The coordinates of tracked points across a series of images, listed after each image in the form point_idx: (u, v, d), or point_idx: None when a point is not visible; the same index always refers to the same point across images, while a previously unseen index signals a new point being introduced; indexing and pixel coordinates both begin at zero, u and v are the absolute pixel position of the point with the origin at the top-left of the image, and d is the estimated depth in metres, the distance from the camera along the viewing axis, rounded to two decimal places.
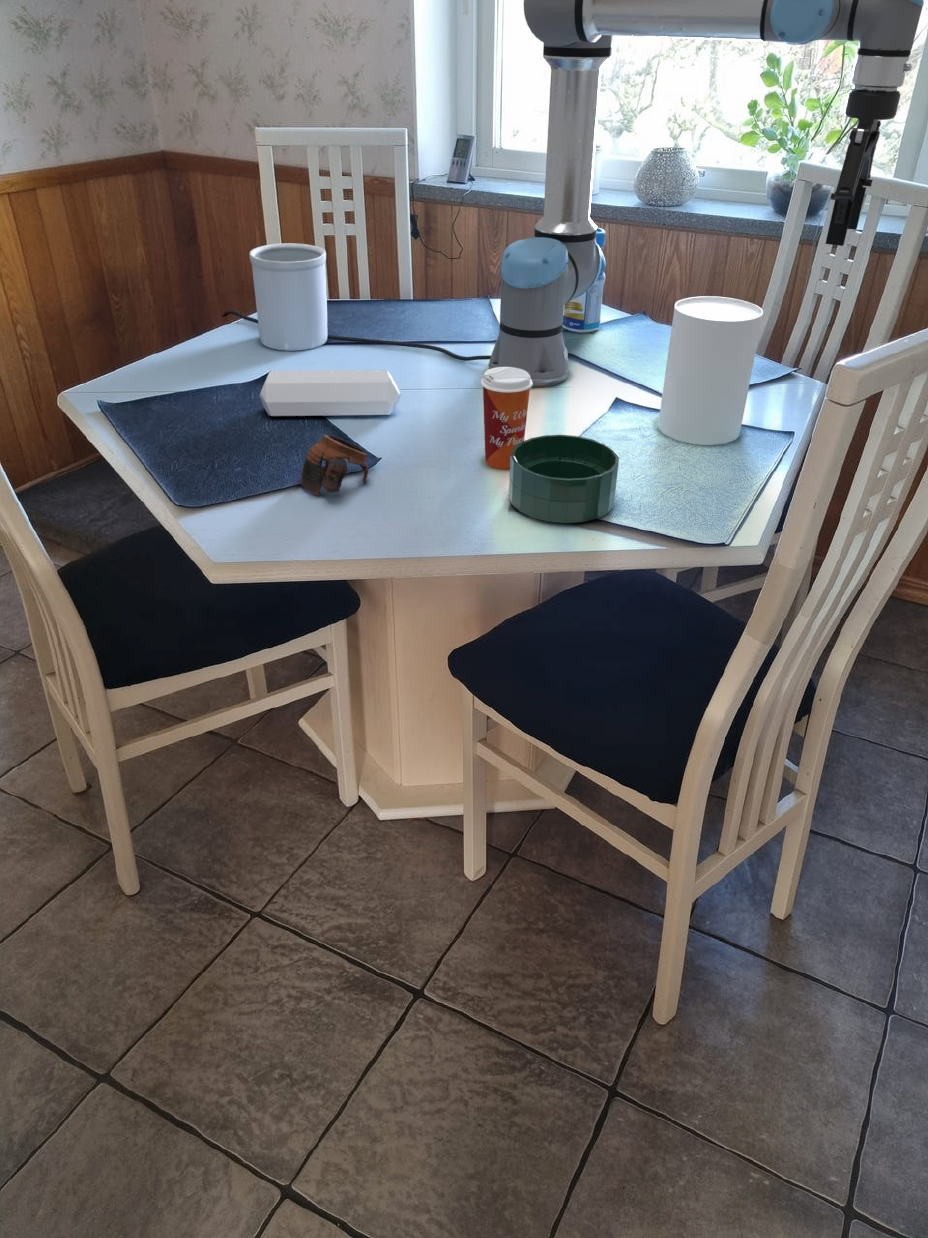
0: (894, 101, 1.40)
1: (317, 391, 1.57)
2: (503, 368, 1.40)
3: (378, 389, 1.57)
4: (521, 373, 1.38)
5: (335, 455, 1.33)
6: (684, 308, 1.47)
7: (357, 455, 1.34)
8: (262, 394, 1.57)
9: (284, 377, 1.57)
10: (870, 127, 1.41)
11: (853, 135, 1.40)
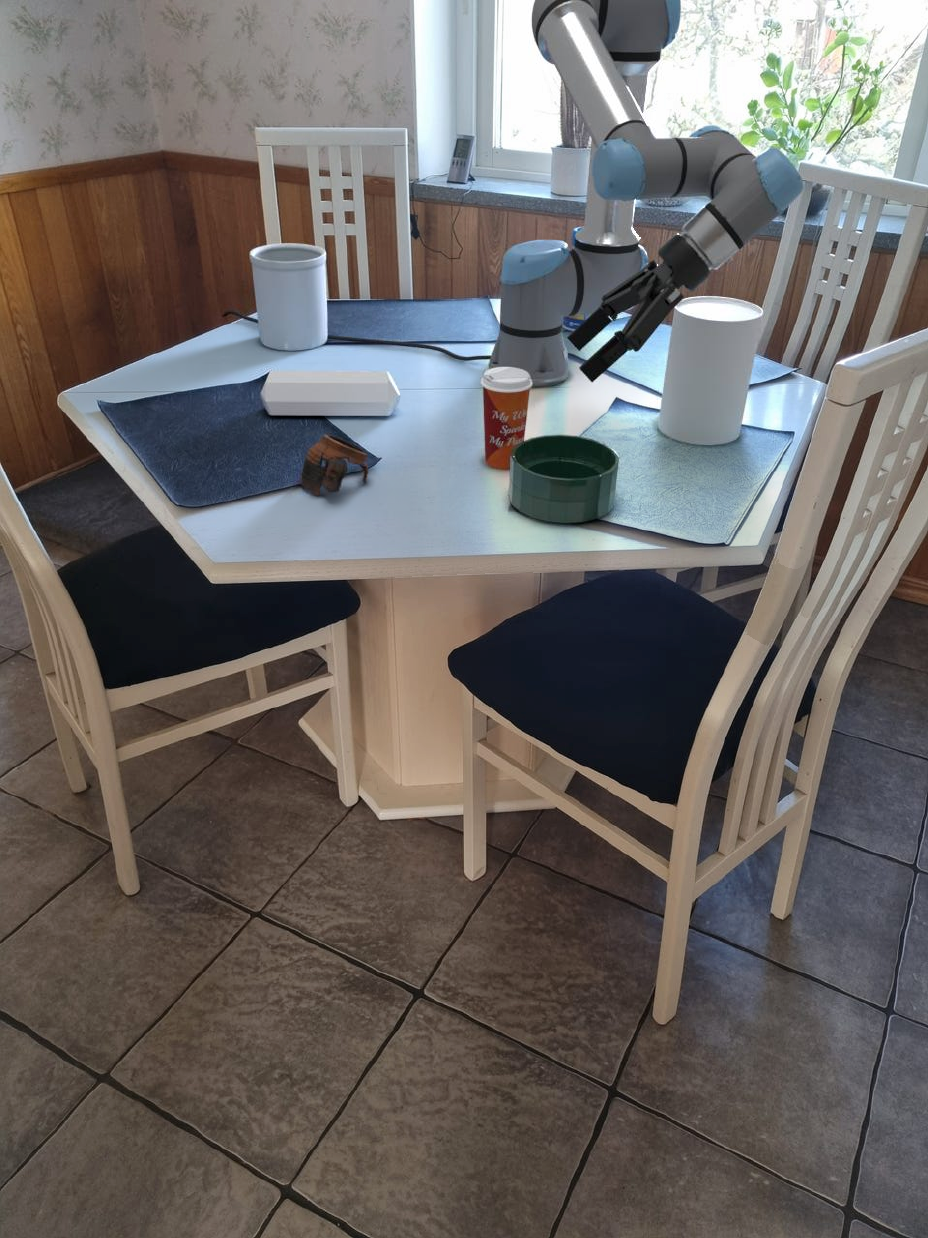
0: (704, 280, 1.29)
1: (317, 391, 1.57)
2: (503, 368, 1.40)
3: (378, 390, 1.57)
4: (521, 373, 1.38)
5: (335, 455, 1.33)
6: (684, 308, 1.47)
7: (357, 455, 1.34)
8: (262, 393, 1.57)
9: (284, 377, 1.57)
10: (677, 289, 1.28)
11: (669, 292, 1.25)
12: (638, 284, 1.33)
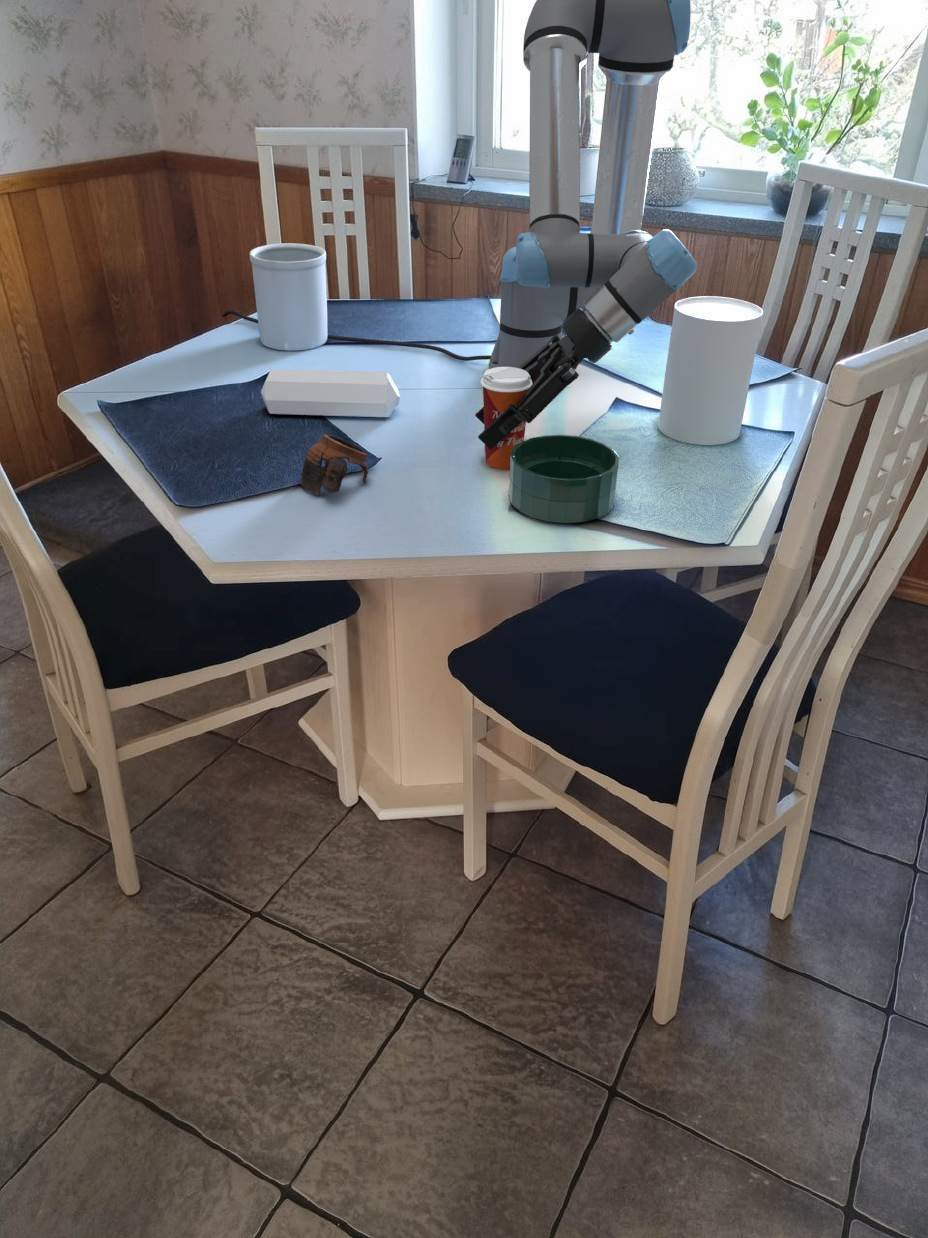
0: None
1: (316, 390, 1.57)
2: (503, 368, 1.40)
3: (377, 391, 1.57)
4: (521, 373, 1.38)
5: (335, 455, 1.33)
6: (684, 308, 1.47)
7: (357, 455, 1.34)
8: (262, 392, 1.58)
9: (284, 375, 1.57)
10: (579, 362, 1.33)
11: (563, 371, 1.31)
12: (544, 356, 1.38)
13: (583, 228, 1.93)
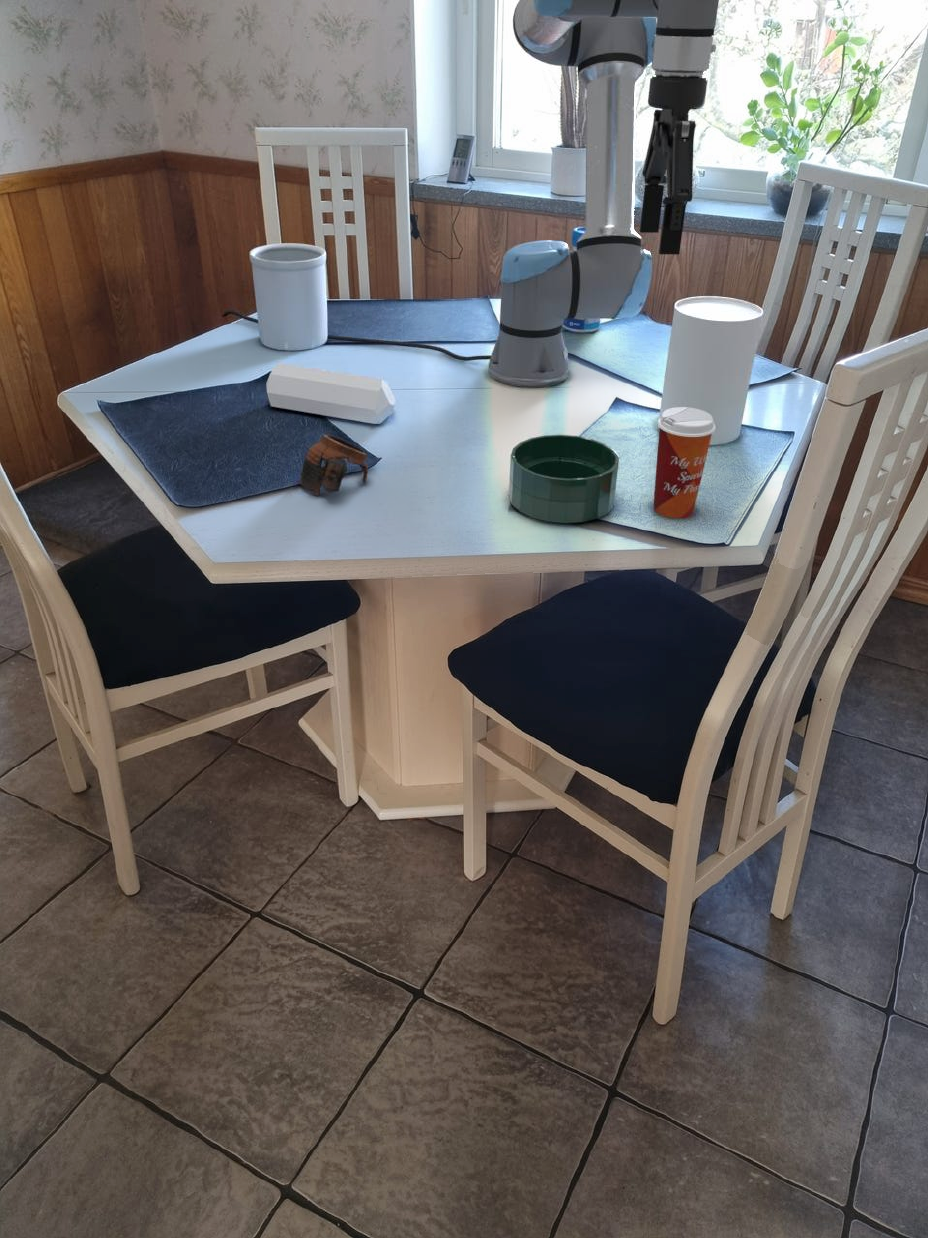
0: (705, 87, 1.23)
1: (313, 389, 1.58)
2: (680, 409, 1.27)
3: (368, 396, 1.55)
4: (703, 415, 1.25)
5: (335, 455, 1.33)
6: (684, 308, 1.47)
7: (357, 455, 1.34)
8: (266, 384, 1.61)
9: (288, 371, 1.59)
10: (687, 118, 1.23)
11: (679, 129, 1.21)
12: (656, 142, 1.30)
13: (583, 228, 1.93)
